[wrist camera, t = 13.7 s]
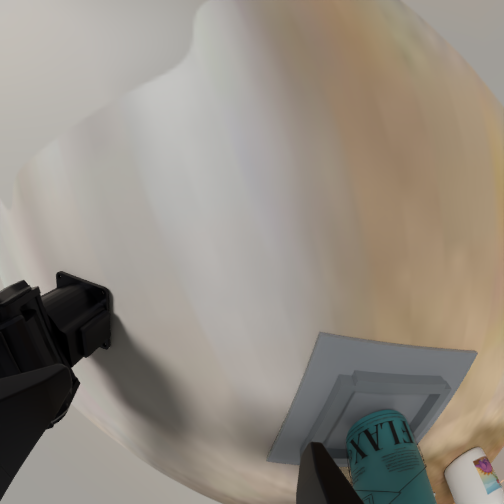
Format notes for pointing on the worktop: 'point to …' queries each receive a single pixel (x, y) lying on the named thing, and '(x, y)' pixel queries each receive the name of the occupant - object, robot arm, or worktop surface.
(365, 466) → the beverage bottle
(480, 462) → the milk bottle
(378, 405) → the grey square base plate
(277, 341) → the worktop surface
